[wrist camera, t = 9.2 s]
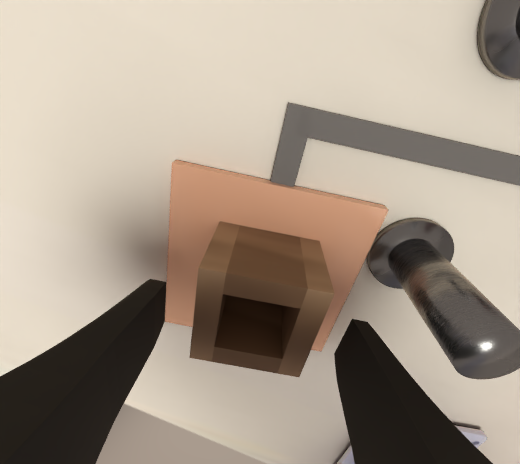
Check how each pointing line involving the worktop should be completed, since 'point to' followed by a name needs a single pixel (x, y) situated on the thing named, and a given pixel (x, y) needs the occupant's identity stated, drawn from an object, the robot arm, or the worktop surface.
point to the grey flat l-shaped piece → (383, 146)
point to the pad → (266, 218)
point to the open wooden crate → (259, 299)
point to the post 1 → (445, 298)
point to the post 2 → (500, 37)
